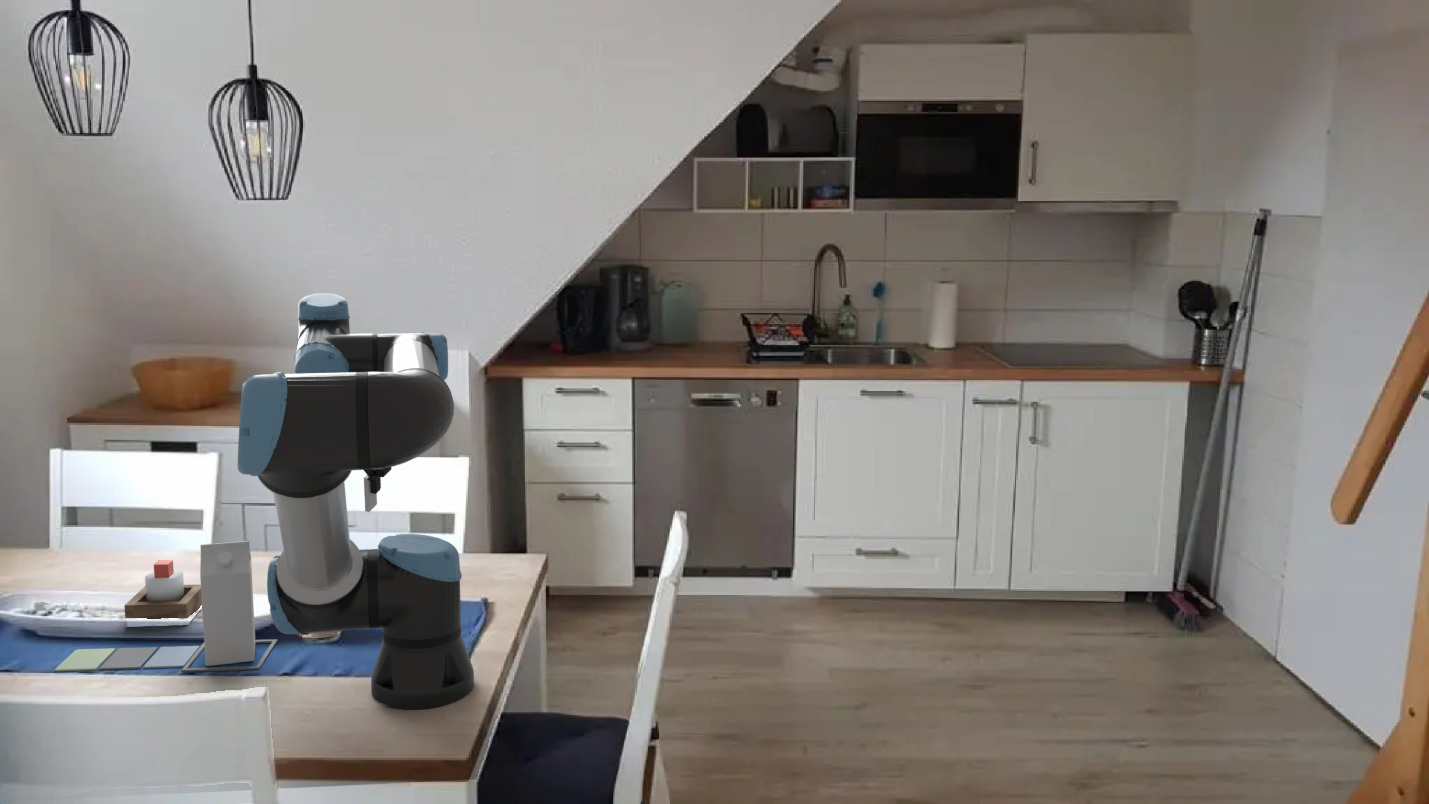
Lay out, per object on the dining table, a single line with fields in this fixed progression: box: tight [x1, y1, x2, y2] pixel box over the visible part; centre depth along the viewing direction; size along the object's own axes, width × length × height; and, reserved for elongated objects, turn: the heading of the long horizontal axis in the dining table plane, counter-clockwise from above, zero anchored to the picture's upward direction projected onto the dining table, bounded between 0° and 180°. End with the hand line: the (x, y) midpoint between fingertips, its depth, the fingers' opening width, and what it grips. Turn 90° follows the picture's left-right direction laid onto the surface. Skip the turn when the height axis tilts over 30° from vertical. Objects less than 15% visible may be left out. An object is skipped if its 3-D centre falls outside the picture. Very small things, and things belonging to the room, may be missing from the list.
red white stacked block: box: [144, 559, 185, 602], centre depth 195 cm, size 6×6×6 cm
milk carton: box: [199, 540, 256, 667], centre depth 179 cm, size 7×7×19 cm
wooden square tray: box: [123, 583, 202, 619], centre depth 196 cm, size 10×10×4 cm
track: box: [54, 639, 278, 673], centre depth 179 cm, size 12×31×1 cm, turn 98°
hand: (334, 499), depth 189 cm, fingers open, 13 cm apart
